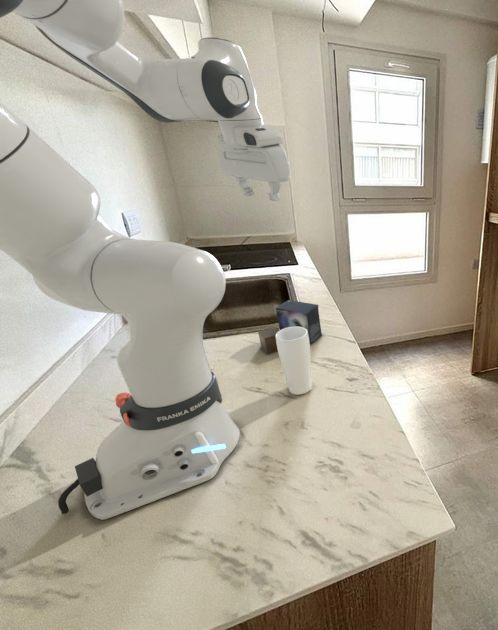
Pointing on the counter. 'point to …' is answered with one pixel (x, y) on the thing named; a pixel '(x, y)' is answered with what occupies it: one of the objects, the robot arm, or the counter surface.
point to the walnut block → (268, 339)
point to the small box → (300, 317)
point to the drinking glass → (295, 358)
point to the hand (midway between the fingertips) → (262, 197)
